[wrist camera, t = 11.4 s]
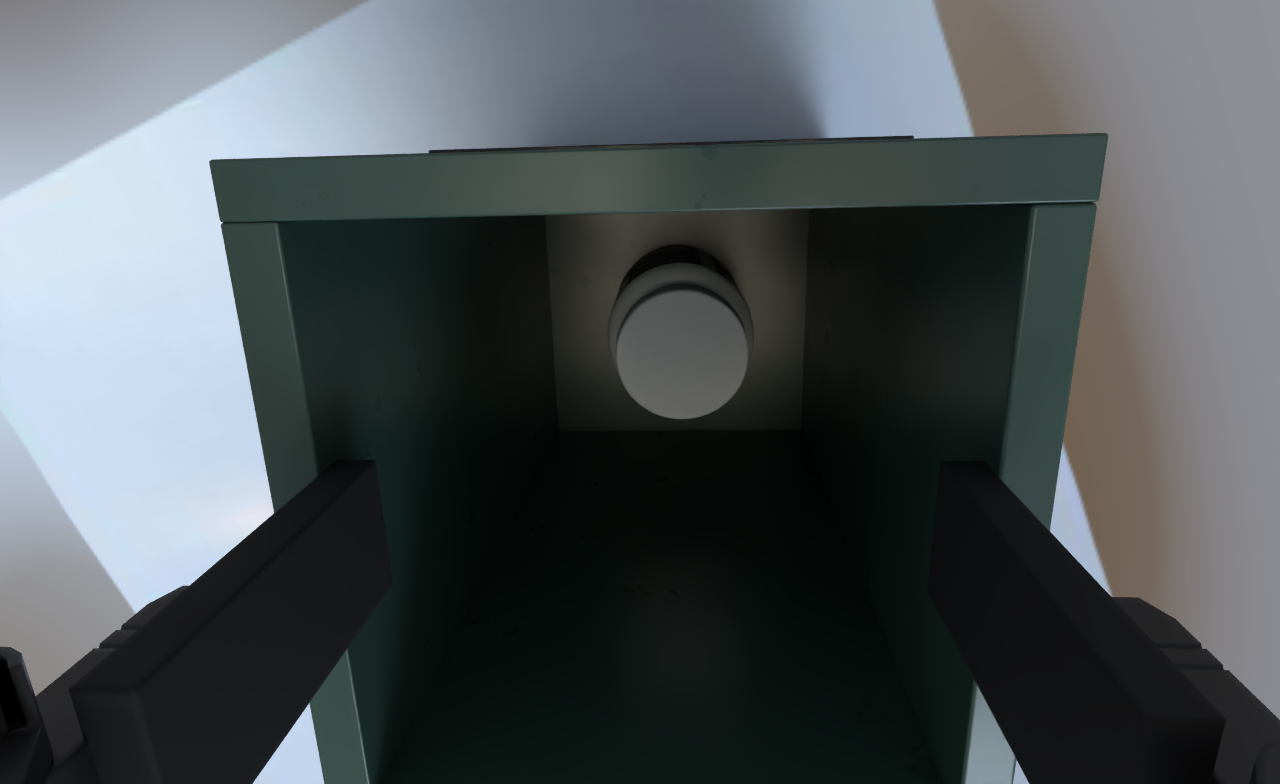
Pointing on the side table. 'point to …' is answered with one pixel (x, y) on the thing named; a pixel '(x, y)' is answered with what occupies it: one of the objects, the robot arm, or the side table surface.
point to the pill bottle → (680, 333)
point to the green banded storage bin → (662, 444)
